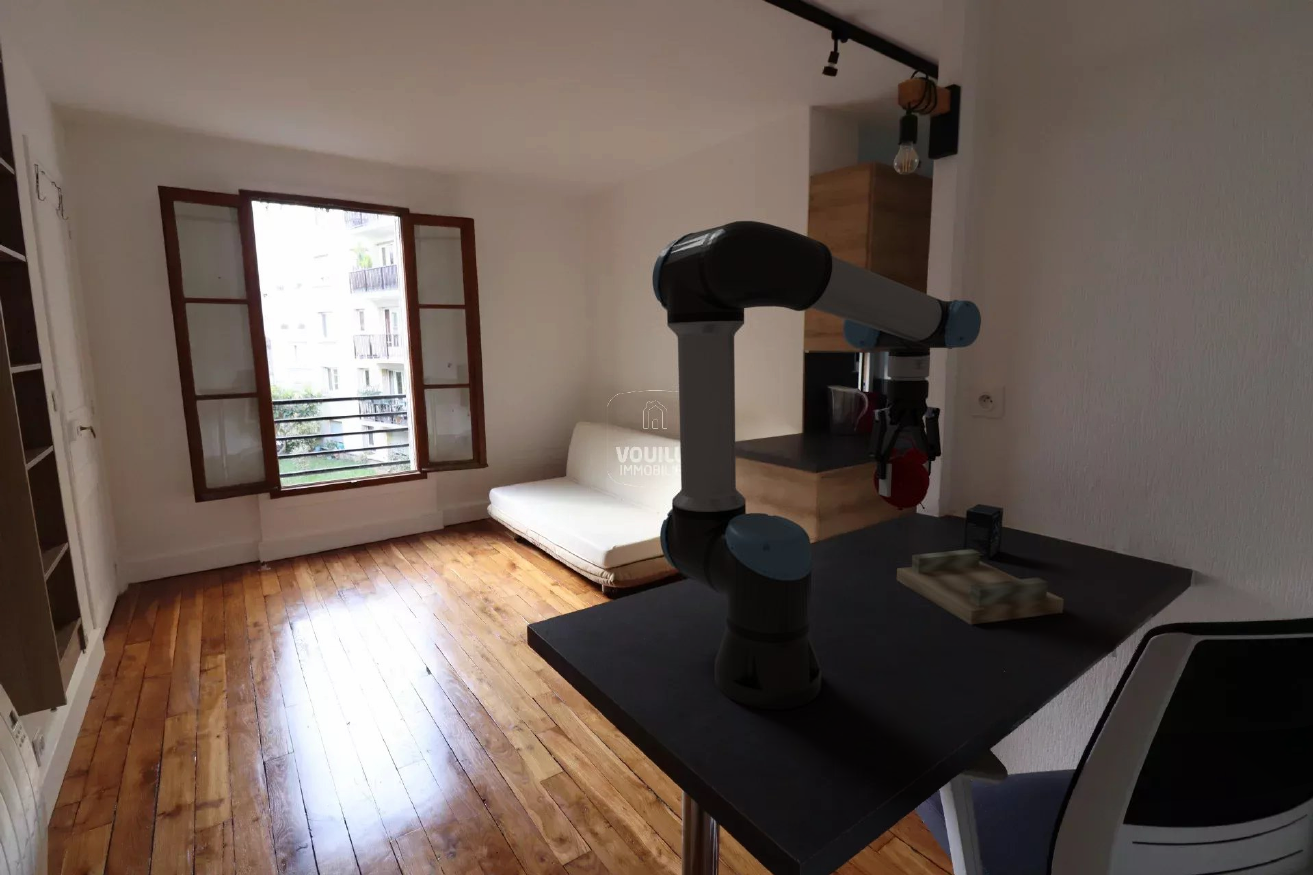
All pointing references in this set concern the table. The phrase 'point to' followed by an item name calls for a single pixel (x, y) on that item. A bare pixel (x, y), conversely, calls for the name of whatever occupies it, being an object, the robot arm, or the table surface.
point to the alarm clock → (907, 479)
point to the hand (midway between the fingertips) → (902, 493)
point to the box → (983, 530)
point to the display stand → (977, 588)
